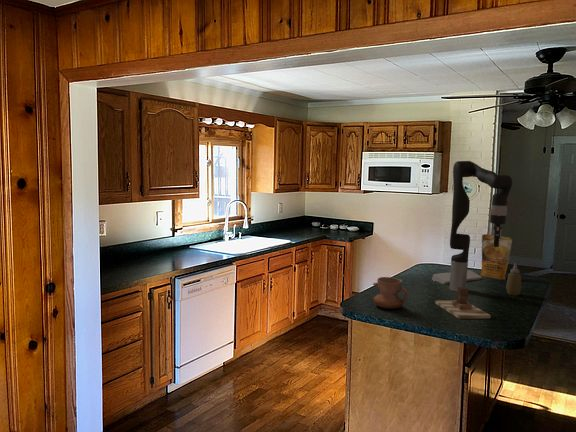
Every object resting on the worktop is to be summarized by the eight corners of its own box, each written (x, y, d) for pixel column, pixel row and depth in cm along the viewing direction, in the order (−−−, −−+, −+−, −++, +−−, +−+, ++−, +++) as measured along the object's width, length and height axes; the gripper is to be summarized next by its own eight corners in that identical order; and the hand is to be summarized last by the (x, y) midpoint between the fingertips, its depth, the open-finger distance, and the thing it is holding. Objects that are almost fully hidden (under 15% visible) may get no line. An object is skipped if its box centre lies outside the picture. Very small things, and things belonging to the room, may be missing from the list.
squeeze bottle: (506, 291, 287) (508, 261, 285) (521, 294, 283) (524, 263, 281) (504, 294, 280) (507, 263, 278) (520, 297, 276) (522, 265, 274)
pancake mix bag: (480, 274, 334) (483, 233, 331) (509, 279, 321) (513, 237, 318) (476, 275, 329) (479, 234, 326) (506, 280, 316) (509, 237, 313)
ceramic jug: (366, 307, 246) (368, 279, 244) (377, 300, 258) (379, 274, 256) (400, 314, 237) (403, 286, 235) (410, 307, 249) (413, 280, 247)
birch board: (435, 303, 257) (435, 300, 257) (463, 302, 260) (463, 300, 260) (459, 318, 232) (459, 315, 232) (490, 318, 234) (490, 315, 234)
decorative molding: (479, 283, 319) (468, 276, 327) (481, 277, 318) (470, 269, 326) (442, 288, 302) (431, 280, 310) (445, 281, 300) (433, 274, 308)
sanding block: (451, 304, 250) (452, 285, 249) (462, 304, 251) (463, 285, 250) (460, 310, 241) (461, 290, 240) (471, 310, 242) (473, 290, 241)
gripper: (490, 212, 257) (488, 243, 259) (490, 214, 244) (488, 246, 246) (506, 213, 255) (503, 244, 256) (507, 215, 242) (504, 248, 243)
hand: (496, 245), depth 251 cm, fingers open, 8 cm apart
